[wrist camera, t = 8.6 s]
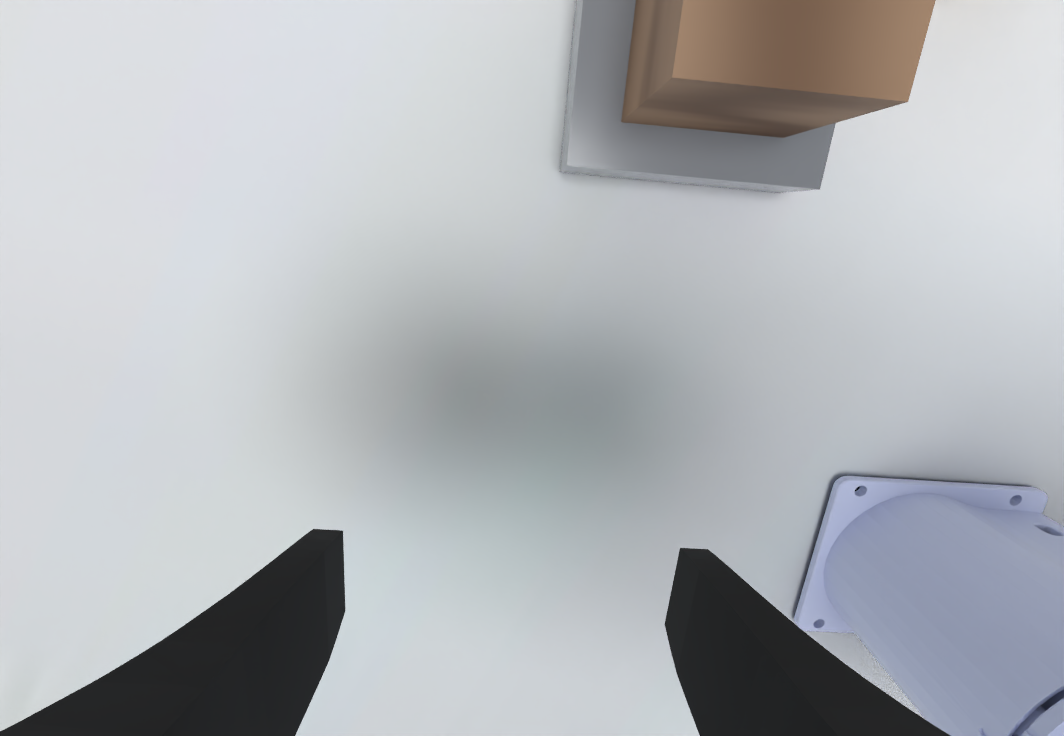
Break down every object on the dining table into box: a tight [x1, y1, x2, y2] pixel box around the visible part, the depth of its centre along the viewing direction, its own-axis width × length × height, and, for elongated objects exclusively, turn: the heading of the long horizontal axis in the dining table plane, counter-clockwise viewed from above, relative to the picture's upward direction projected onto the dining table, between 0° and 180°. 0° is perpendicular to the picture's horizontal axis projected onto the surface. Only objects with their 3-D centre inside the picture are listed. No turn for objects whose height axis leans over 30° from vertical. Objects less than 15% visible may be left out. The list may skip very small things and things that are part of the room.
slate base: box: [560, 0, 835, 193], centre depth 15 cm, size 8×8×2 cm
